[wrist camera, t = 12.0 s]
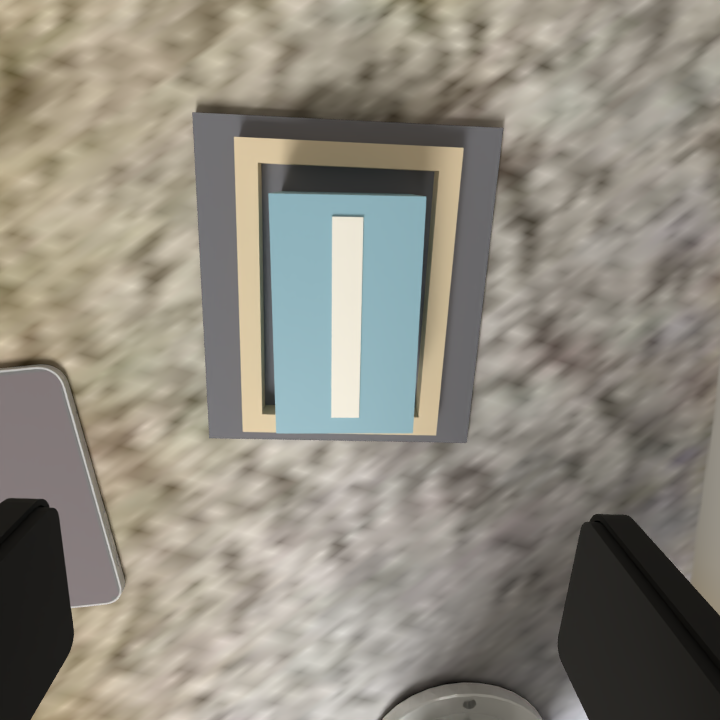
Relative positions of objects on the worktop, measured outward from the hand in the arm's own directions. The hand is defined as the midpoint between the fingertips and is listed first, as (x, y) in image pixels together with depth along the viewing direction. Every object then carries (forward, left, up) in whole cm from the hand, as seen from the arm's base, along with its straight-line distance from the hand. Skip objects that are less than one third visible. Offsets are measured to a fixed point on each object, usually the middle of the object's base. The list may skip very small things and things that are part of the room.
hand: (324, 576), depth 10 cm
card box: (+1, -1, -18) cm, 18 cm away
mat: (+1, -1, -19) cm, 19 cm away
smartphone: (-11, +16, -19) cm, 28 cm away
